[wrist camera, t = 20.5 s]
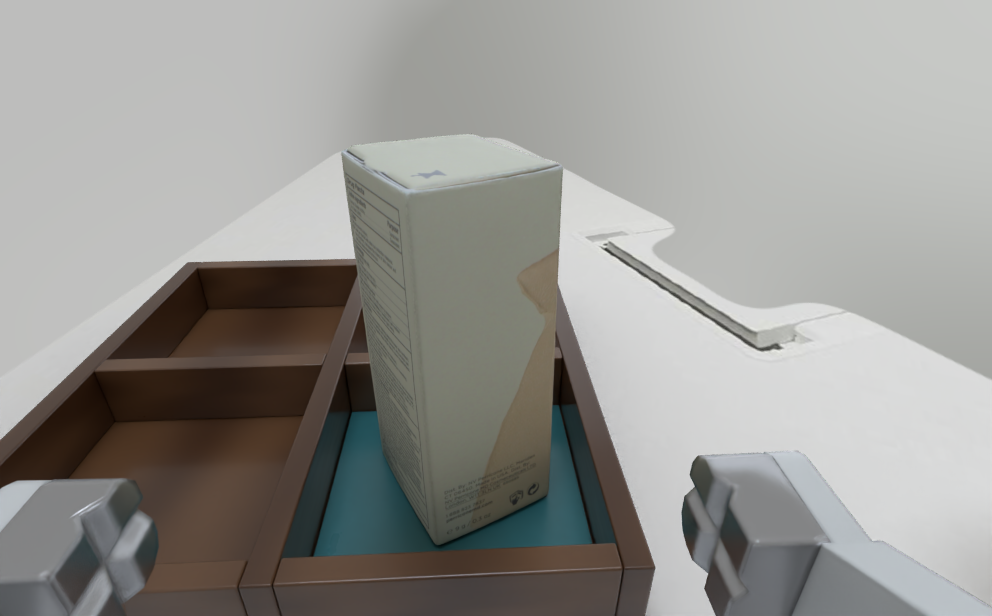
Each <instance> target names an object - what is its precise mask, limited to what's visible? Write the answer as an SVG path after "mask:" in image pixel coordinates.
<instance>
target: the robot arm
mask: <svg viewBox="0 0 992 616" xmlns="http://www.w3.org/2000/svg"><path fill="white" fill-rule="evenodd" d="M690 477H691V479H692V481H693V483H694V485H695V487H694V488H693V489H692V490H691V491H690V492H689V493H688V494H687V495H685V497H684V502H683V508H682V526H683V533H684V537H685V541H686V545H687V548H688V550H689V553H690V555H691V558H692V560H693V561H694V562H695V563H696V564H697V565H699V566H700V567H701V568H702V569H704V570H705V571H706V572H707V573H708V577H707V581H706V584H705V588H704V589H705V591H706V594H707V596H708V598H709V601H710V603H711V605H712V608H713V610H714V612H715V615H716V616H992V607H991V606H989V605H988V604H986V603H984V602H983V601H981V600H979V599H978V598H976V597H974V596H973V595H971V594H970V593H968V592H966V591H965V590H963V589H961V588H960V587H958V586H956V585H955V584H953V583H951V582H950V581H948V580H947V579H945V578H943V577H942V576H940V575H938V574H937V573H935V572H933V571H932V570H930V569H928V568H927V567H925V566H924V565H922V564H920V563H919V562H917V561H915V560H914V559H912V558H910V557H909V556H907V555H905V554H904V553H902V552H901V551H899V550H897V549H896V548H894V547H892V546H891V545H889V544H887V543H886V542H884V541H872V540H871V539H870V538H869V536H868V535H867V534H866V532H865V531H864V530H863V528H862V527H861V526H860V525H859V523H858V522H857V521H856V519H855V518H854V517H853V516H852V514H851V513H850V512H849V510H848V509H847V508H846V507H845V505H844V504H843V503H842V501H841V500H840V499H839V498H838V496H837V495H836V494H835V492H834V491H833V490H832V488H831V487H830V486H829V485H828V483H827V482H826V481H825V479H824V478H823V477H822V476H821V474H820V473H819V472H818V470H817V469H816V468H815V467H814V465H813V464H812V463H811V461H810V460H809V459H808V458H807V456H806V455H804V454H802V453H801V452H799V451H780V452H764V453H741V454H721V455H700V456H697V457H696V459H695V460H694V461H693V463H692V467H691V471H690ZM142 499H143V495H142V493H141V491H140V489H139V487H138V485H137V483H136V481H135V480H130V479H125V478H115V479H54V480H27V481H15V482H13V483H11V484H9V485H6V486H4V487H2V488H1V489H0V616H127V613H126V608H125V604H124V603H125V602H126V601H128V600H129V599H130V598H131V597H133V596H134V595H135V594H136V593H138V592H139V591H140V590H141V589H143V588H144V587H145V585H146V583H147V581H148V579H149V577H150V575H151V573H152V571H153V569H154V566H155V562H156V557H157V553H158V549H159V541H158V531H157V528H156V526H155V523H154V521H153V519H152V518H151V517H149V516H148V515H146V514H145V513H143V512H142V511H140V510H139V509H137V508H138V506H139V504H140V502H141V501H142Z"/></svg>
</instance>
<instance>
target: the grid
mask: <svg viewBox="0 0 992 616" xmlns="http://www.w3.org/2000/svg"><path fill="white" fill-rule="evenodd" d="M115 478H125V479H130V480H135V481H136V483H137V485H138V487H139V489H140V491H141V493H142V495H143V499H142V501H141V502H140V504H139V506H138V508H137V509H139V510H140V511H142V512H143V513H145V514H146V515H148V516H149V517H151V518H152V519H153V521H154V523H155V526H156V528H157V531H158V541H159V549H158V553H157V557H156V562H155V566H154V569H153V571H152V573H151V575H150V577H149V579H148V581H147V583H146V585H145V587H144V588H143V589H141V590H140V591H139V592H138V593H136V594H135V595H134V596H133V597H131V598H130V599H129V600H128V601H126V602H125V603H124V604H125V608H126V613H127V616H645V613H646V609H647V604H648V599H649V595H650V590H651V585H652V581H653V576H654V571H655V565H654V562H653V559H652V556H651V553H650V550H649V547H648V544H647V541H646V539H645V536H644V533H643V530H642V527H641V524H640V521H639V518H638V515H637V512H636V509H635V507H634V504H633V501H632V498H631V495H630V492H629V489H628V486H627V483H626V480H625V478H624V475H623V472H622V469H621V466H620V463H619V460H618V457H617V454H616V451H615V449H614V446H613V443H612V440H611V437H610V434H609V431H608V428H607V425H606V422H605V420H604V417H603V414H602V411H601V408H600V405H599V402H598V399H597V396H596V393H595V390H594V388H593V385H592V382H591V379H590V376H589V373H588V370H587V367H586V364H585V361H584V359H583V356H582V353H581V350H580V347H579V344H578V341H577V338H576V335H575V332H574V330H573V327H572V324H571V321H570V318H569V315H568V312H567V309H566V306H565V303H564V301H563V298H562V295H561V292H560V289H559V286H558V285H557V310H556V331H555V357H554V381H553V402H552V426H551V451H550V473H549V492H548V494H547V495H546V496H544V497H543V498H541V499H539V500H537V501H535V502H533V503H531V504H529V505H527V506H525V507H523V508H520V509H518V510H516V511H514V512H513V513H510V514H508V515H506V516H504V517H502V518H500V519H498V520H496V521H493V522H491V523H489V524H487V525H485V526H483V527H481V528H478V529H476V530H474V531H471V532H469V533H467V534H465V535H463V536H460V537H458V538H456V539H453V540H451V541H448V542H446V543H444V544H441V545H436V544H435V543H434V542H433V540H432V539H431V537H430V535H429V534H428V532H427V531H426V529H425V527H424V526H423V524H422V523H421V521H420V519H419V518H418V516H417V515H416V513H415V511H414V509H413V508H412V506H411V504H410V502H409V500H408V499H407V497H406V495H405V494H404V492H403V490H402V489H401V487H400V485H399V483H398V482H397V480H396V478H395V476H394V474H393V472H392V470H391V468H390V466H389V464H388V462H387V460H386V458H385V456H384V454H383V451H382V444H381V437H380V430H379V423H378V415H377V408H376V401H375V394H374V387H373V380H372V373H371V366H370V359H369V352H368V345H367V338H366V330H365V323H364V316H363V308H362V301H361V294H360V286H359V279H358V272H357V265H356V259H334V260H282V261H231V262H188V263H186V264H185V265H184V266H183V267H182V268H181V269H180V270H179V271H178V272H177V273H176V274H175V275H174V276H173V277H172V278H171V279H170V280H169V281H167V282H166V283H165V284H164V285H163V286H162V287H161V288H160V289H159V290H158V291H157V292H156V293H155V294H154V295H153V296H152V297H151V298H150V299H148V300H147V301H146V302H145V303H144V304H143V305H142V306H141V307H140V308H139V309H138V310H137V311H136V312H135V313H134V314H133V315H132V316H131V317H130V318H128V319H127V320H126V321H125V322H124V323H123V324H122V325H121V326H120V327H119V328H118V329H117V330H116V331H115V332H114V333H113V334H112V335H111V336H109V337H108V338H107V339H106V340H105V341H104V342H103V343H102V344H101V345H100V346H99V347H98V348H97V349H96V350H95V351H94V352H93V353H92V354H90V355H89V356H88V357H87V358H86V359H85V360H84V361H83V362H82V363H81V364H80V365H79V366H78V367H77V368H76V369H75V370H74V371H73V372H72V373H70V374H69V375H68V376H67V377H66V378H65V379H64V380H63V381H62V382H61V383H60V384H59V385H58V386H57V387H56V388H55V389H54V390H53V391H51V392H50V393H49V394H48V395H47V396H46V397H45V398H44V399H43V400H42V401H41V402H40V403H39V404H38V405H37V406H36V407H35V408H34V409H32V410H31V411H30V412H29V413H28V414H27V415H26V416H25V417H24V418H23V419H22V420H21V421H20V422H19V423H18V424H17V425H16V426H15V427H14V428H12V429H11V430H10V431H9V432H8V433H7V434H6V435H5V436H4V437H3V438H2V439H1V440H0V489H1V488H2V487H4V486H6V485H9V484H11V483H13V482H15V481H27V480H54V479H115Z"/></svg>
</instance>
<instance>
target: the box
mask: <svg viewBox="0 0 992 616" xmlns="http://www.w3.org/2000/svg"><path fill="white" fill-rule="evenodd" d="M341 154H342V162H343V170H344V178H345V185H346V194H347V201H348V208H349V215H350V222H351V229H352V236H353V244H354V251H355V258H356V265H357V272H358V279H359V286H360V294H361V301H362V308H363V316H364V323H365V330H366V338H367V345H368V352H369V359H370V366H371V373H372V380H373V387H374V394H375V401H376V408H377V415H378V423H379V430H380V437H381V444H382V451H383V454H384V456H385V458H386V460H387V462H388V464H389V466H390V468H391V470H392V472H393V474H394V476H395V478H396V480H397V482H398V483H399V485H400V487H401V489H402V490H403V492H404V494H405V495H406V497H407V499H408V500H409V502H410V504H411V506H412V508H413V509H414V511H415V513H416V515H417V516H418V518H419V519H420V521H421V523H422V524H423V526H424V527H425V529H426V531H427V532H428V534H429V535H430V537H431V539H432V540H433V542H434V543H435V544H436V545H441V544H444V543H446V542H448V541H451V540H453V539H456V538H458V537H460V536H463V535H465V534H467V533H469V532H471V531H474V530H476V529H478V528H481V527H483V526H485V525H487V524H489V523H491V522H493V521H496V520H498V519H500V518H502V517H504V516H506V515H508V514H510V513H513V512H514V511H516V510H518V509H520V508H523V507H525V506H527V505H529V504H531V503H533V502H535V501H537V500H539V499H541V498H543V497H544V496H546V495H547V494H548V492H549V473H550V451H551V426H552V402H553V381H554V357H555V331H556V310H557V285H558V261H559V237H560V216H561V196H562V175H563V167H562V166H561V164H559V163H557V162H554V161H551V160H547V159H544V158H541V157H538V156H535V155H532V154H529V153H526V152H523V151H520V150H517V149H514V148H511V147H508V146H505V145H502V144H499V143H496V142H493V141H490V140H487V139H485V138H482V137H479V136H477V135H472V134H461V135H449V136H438V137H429V138H421V139H410V140H401V141H391V142H379V143H372V144H361V145H355V146H351V147H350V148H348V149H346V150H343V151H342V153H341Z"/></svg>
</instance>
